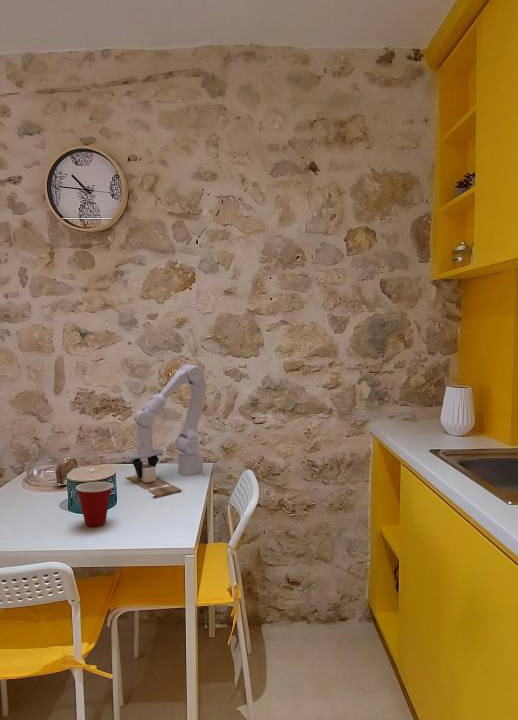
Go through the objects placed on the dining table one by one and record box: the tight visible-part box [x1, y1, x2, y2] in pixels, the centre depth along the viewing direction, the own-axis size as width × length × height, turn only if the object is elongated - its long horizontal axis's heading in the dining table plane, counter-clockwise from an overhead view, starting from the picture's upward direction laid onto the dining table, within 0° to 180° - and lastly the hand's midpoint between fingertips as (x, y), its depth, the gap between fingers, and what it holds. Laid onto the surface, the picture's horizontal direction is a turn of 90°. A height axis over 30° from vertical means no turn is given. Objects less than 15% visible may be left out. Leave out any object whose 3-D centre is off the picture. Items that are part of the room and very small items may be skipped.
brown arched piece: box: [55, 458, 79, 484], centre depth 191 cm, size 15×3×8 cm, turn 179°
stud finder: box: [134, 462, 157, 483], centre depth 190 cm, size 4×9×5 cm, turn 38°
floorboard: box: [125, 475, 182, 499], centre depth 186 cm, size 10×26×1 cm, turn 39°
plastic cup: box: [75, 481, 114, 528], centre depth 151 cm, size 11×11×12 cm
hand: (145, 476), depth 190 cm, fingers closed on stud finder, 4 cm apart
